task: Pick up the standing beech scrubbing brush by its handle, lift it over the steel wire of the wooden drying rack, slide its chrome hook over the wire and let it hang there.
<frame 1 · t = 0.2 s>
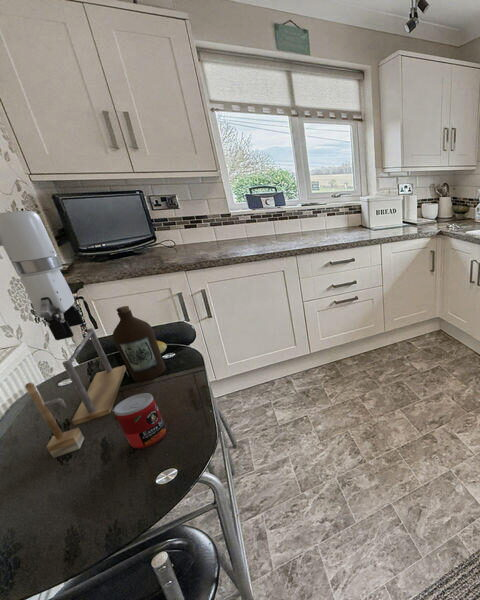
hand: (70, 331, 82), 27 cm above the table, tool pointing down, fingers open, 9 cm apart
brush: (66, 448, 82), on the table
bread roll: (154, 353, 129), on the table
rack: (103, 393, 104), on the table
canned food: (149, 438, 83), on the table
olive oil: (150, 374, 113), on the table
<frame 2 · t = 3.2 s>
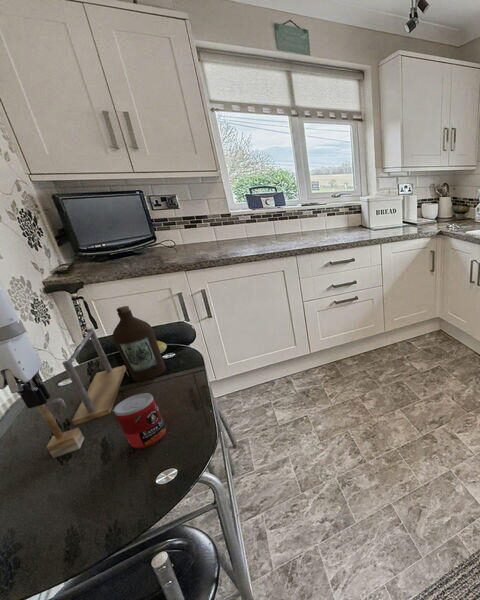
hand: (39, 402, 77), 14 cm above the table, tool pointing down, fingers closed on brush
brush: (66, 448, 82), on the table, touching gripper
everything else where it was.
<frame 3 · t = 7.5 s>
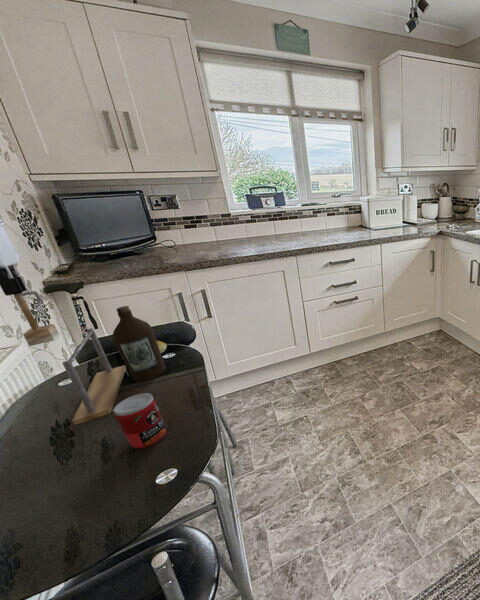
hand: (16, 292, 85), 37 cm above the table, tool pointing down, fingers closed on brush
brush: (42, 341, 90), point 23 cm above the table, touching gripper
everything else where it was.
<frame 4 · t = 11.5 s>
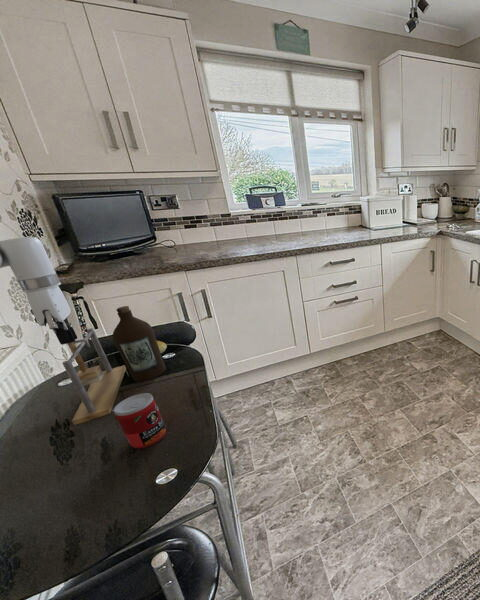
hand: (69, 341, 97), 19 cm above the table, tool pointing down, fingers closed on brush
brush: (89, 381, 102), point 5 cm above the table, touching gripper
everything else where it was.
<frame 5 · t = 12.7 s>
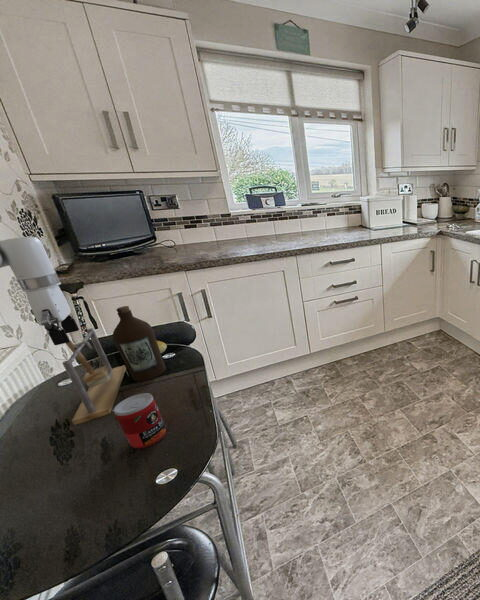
hand: (67, 337, 96), 21 cm above the table, tool pointing down, fingers open, 9 cm apart
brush: (99, 381, 103), point 4 cm above the table, tilted 9°, touching rack
everything else where it was.
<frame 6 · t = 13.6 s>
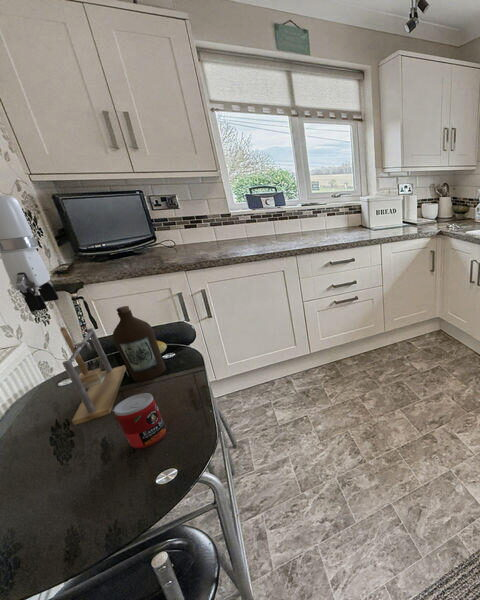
hand: (45, 305, 92), 31 cm above the table, tool pointing down, fingers open, 9 cm apart
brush: (91, 383, 102), point 4 cm above the table, touching rack
everything else where it was.
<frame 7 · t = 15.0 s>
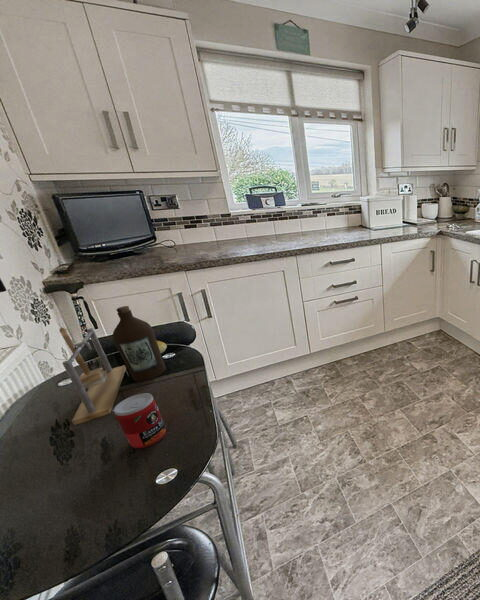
nothing on the table moved.
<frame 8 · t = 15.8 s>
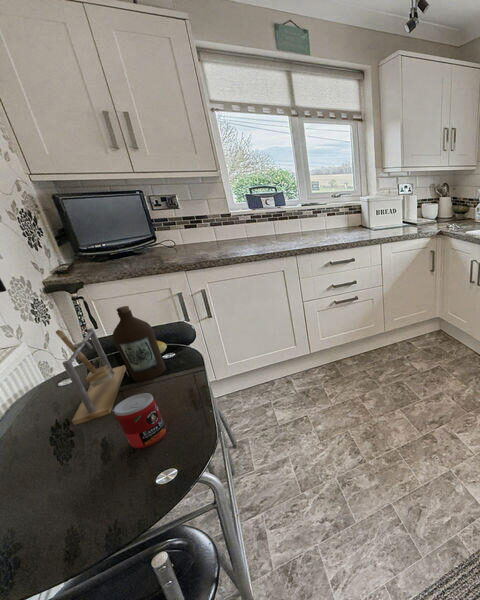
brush: (102, 380, 103), point 4 cm above the table, tilted 12°, touching rack
everything else where it was.
at the end: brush inside the target area on the rack (2.0 cm from its centre), point 4.4 cm above the rack's base; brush touching rack; the gripper is holding nothing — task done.
